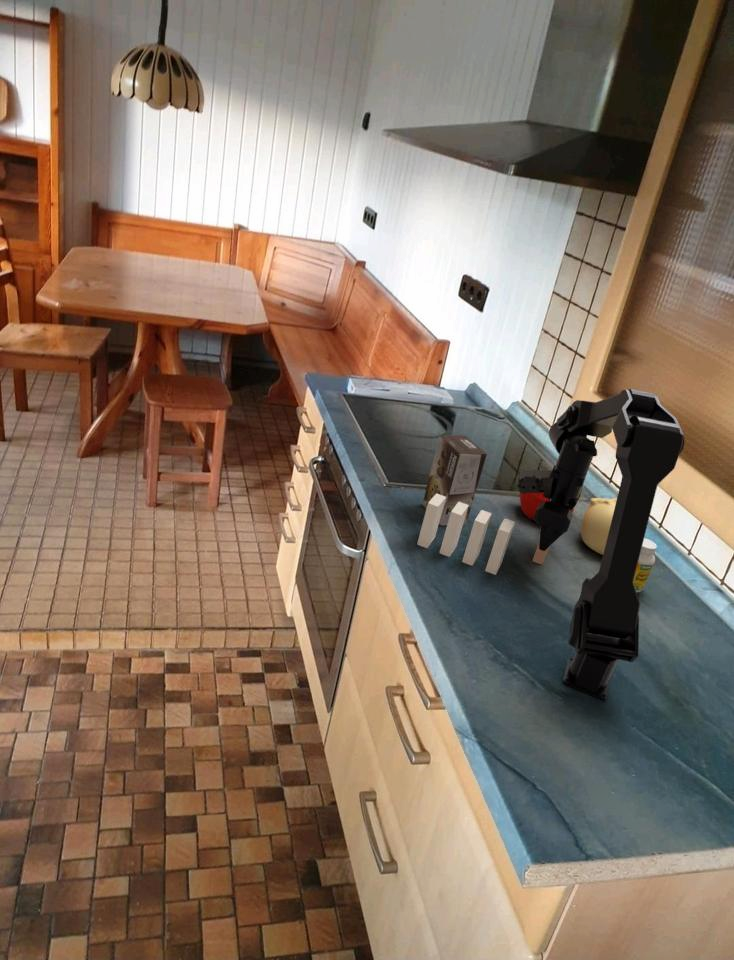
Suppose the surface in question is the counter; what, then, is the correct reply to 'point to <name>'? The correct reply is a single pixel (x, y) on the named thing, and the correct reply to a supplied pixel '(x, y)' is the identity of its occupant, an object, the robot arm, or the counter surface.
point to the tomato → (532, 503)
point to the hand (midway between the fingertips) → (545, 540)
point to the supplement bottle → (644, 564)
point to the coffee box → (455, 473)
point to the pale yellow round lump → (597, 523)
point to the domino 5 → (540, 555)
